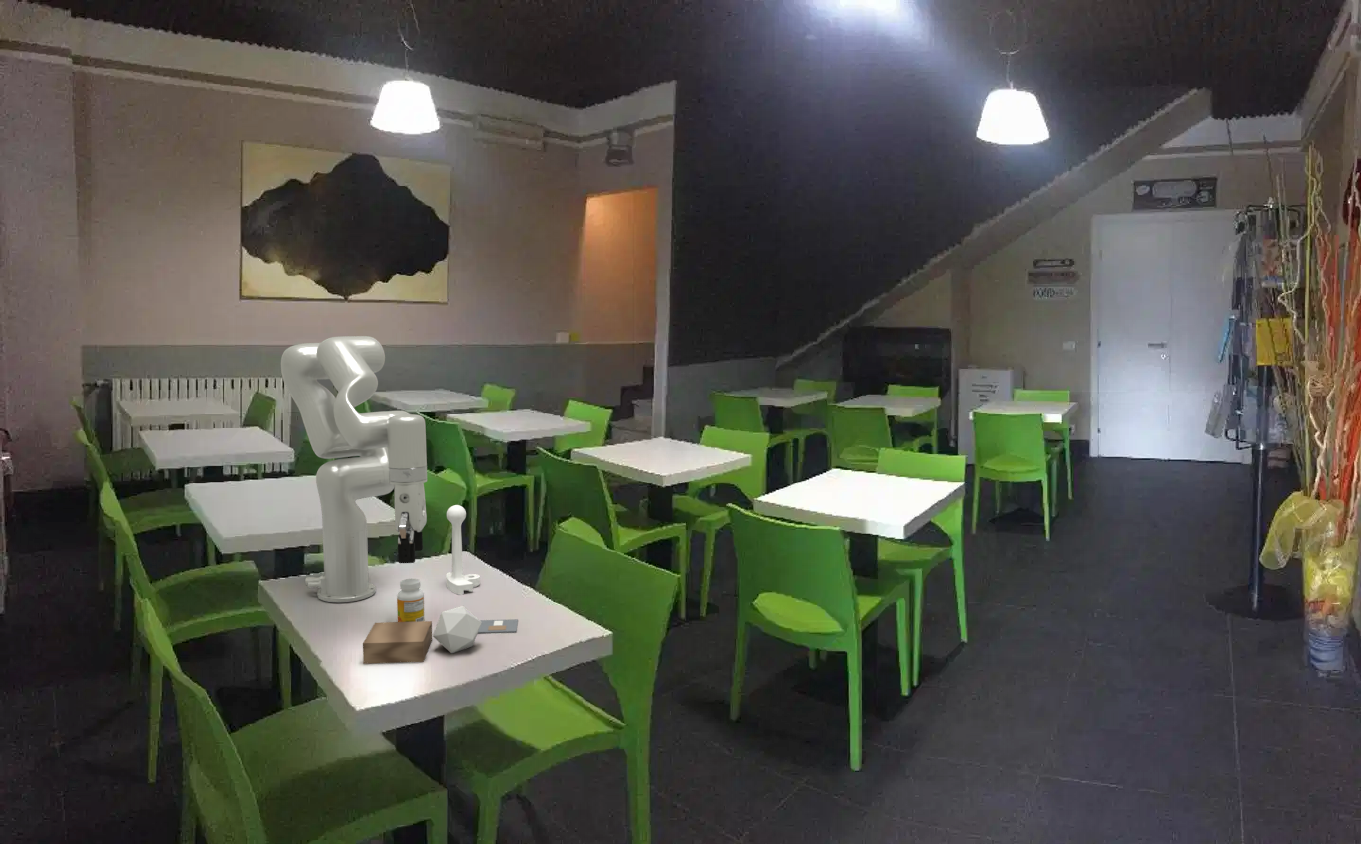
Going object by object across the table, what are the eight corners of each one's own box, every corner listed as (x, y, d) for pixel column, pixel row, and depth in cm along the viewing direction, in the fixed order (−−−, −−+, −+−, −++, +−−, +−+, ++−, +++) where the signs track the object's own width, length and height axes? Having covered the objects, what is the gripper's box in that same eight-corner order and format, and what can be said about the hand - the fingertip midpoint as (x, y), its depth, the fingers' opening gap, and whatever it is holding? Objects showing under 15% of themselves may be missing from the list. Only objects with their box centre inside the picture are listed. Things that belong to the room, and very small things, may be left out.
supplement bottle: (398, 622, 190) (397, 578, 189) (425, 620, 192) (424, 576, 190) (397, 631, 185) (395, 586, 184) (424, 629, 186) (423, 584, 185)
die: (464, 639, 183) (434, 606, 180) (495, 624, 180) (465, 590, 177) (449, 667, 176) (417, 633, 173) (481, 653, 173) (449, 618, 170)
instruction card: (476, 633, 185) (476, 631, 185) (480, 621, 192) (480, 619, 191) (516, 632, 186) (516, 630, 186) (518, 620, 193) (518, 618, 192)
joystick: (442, 582, 218) (441, 501, 215) (473, 578, 221) (472, 498, 219) (453, 595, 208) (452, 511, 206) (485, 591, 212) (484, 508, 209)
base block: (363, 663, 168) (362, 643, 168) (375, 641, 179) (375, 622, 179) (423, 661, 170) (423, 641, 169) (432, 640, 181) (431, 621, 180)
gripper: (420, 482, 176) (423, 567, 178) (433, 467, 193) (435, 545, 195) (380, 482, 175) (384, 568, 177) (397, 468, 192) (400, 546, 194)
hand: (411, 556), depth 186 cm, fingers open, 9 cm apart
